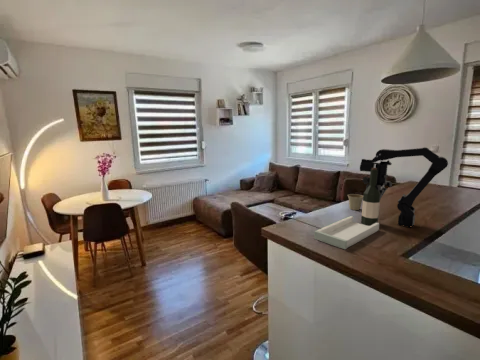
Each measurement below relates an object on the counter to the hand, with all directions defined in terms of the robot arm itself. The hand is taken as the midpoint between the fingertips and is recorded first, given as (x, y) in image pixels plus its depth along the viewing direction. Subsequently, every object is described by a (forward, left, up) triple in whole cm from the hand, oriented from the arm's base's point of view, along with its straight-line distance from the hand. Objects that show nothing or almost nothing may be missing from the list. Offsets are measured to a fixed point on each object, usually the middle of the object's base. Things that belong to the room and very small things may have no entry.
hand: (378, 200), depth 147 cm
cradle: (0, +32, -11) cm, 34 cm away
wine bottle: (0, +9, -11) cm, 14 cm away
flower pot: (+18, -11, -11) cm, 24 cm away
